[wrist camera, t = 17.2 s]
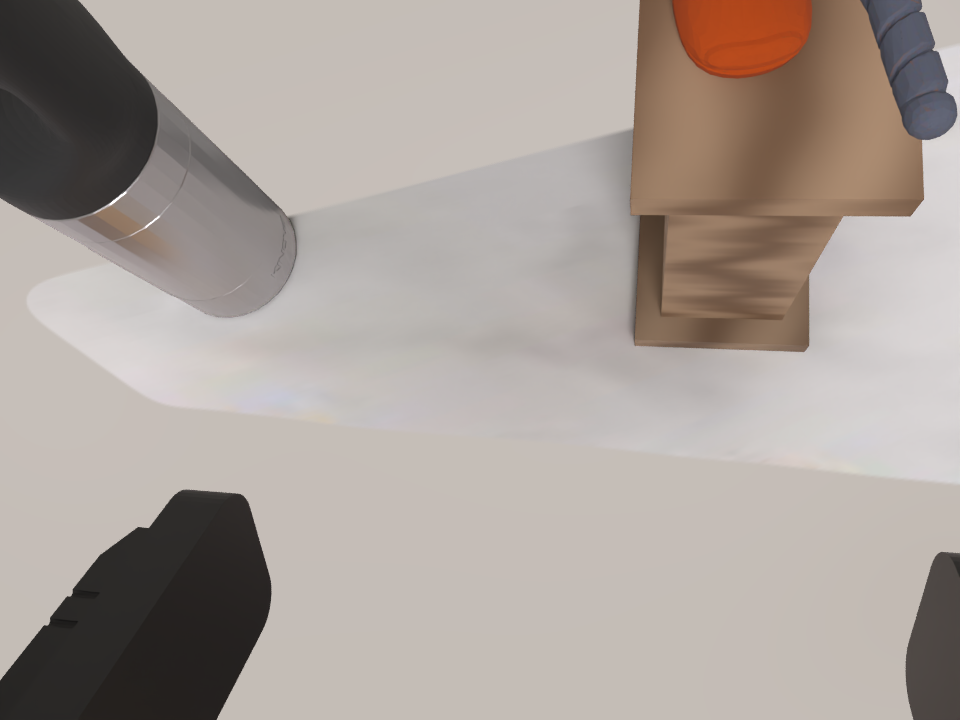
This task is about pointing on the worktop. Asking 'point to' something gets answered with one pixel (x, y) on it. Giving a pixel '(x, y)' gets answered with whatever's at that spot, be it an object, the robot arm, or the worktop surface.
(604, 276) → the worktop surface
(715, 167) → the walnut stand
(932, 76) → the toy drill
